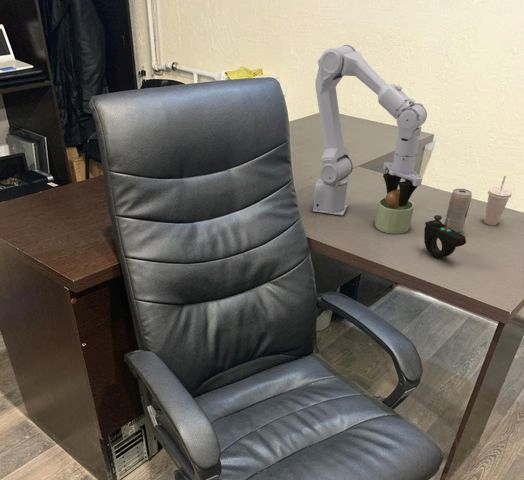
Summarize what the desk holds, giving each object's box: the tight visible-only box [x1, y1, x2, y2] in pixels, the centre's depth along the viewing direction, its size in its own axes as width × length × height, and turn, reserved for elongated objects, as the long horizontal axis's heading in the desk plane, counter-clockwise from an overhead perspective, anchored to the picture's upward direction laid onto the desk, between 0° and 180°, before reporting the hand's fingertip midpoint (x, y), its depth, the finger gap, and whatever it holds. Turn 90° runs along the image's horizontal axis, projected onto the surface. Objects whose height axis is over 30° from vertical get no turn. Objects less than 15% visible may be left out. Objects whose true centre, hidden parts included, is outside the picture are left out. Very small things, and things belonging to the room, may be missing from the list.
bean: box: [385, 188, 410, 208], centre depth 149 cm, size 7×5×5 cm
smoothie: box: [484, 175, 513, 226], centre depth 153 cm, size 6×6×14 cm
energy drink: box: [443, 188, 473, 235], centre depth 148 cm, size 5×5×12 cm
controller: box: [423, 214, 467, 259], centre depth 137 cm, size 4×12×10 cm, turn 30°
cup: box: [374, 196, 415, 235], centre depth 152 cm, size 10×10×7 cm
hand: (396, 202), depth 150 cm, fingers closed on bean, 5 cm apart
